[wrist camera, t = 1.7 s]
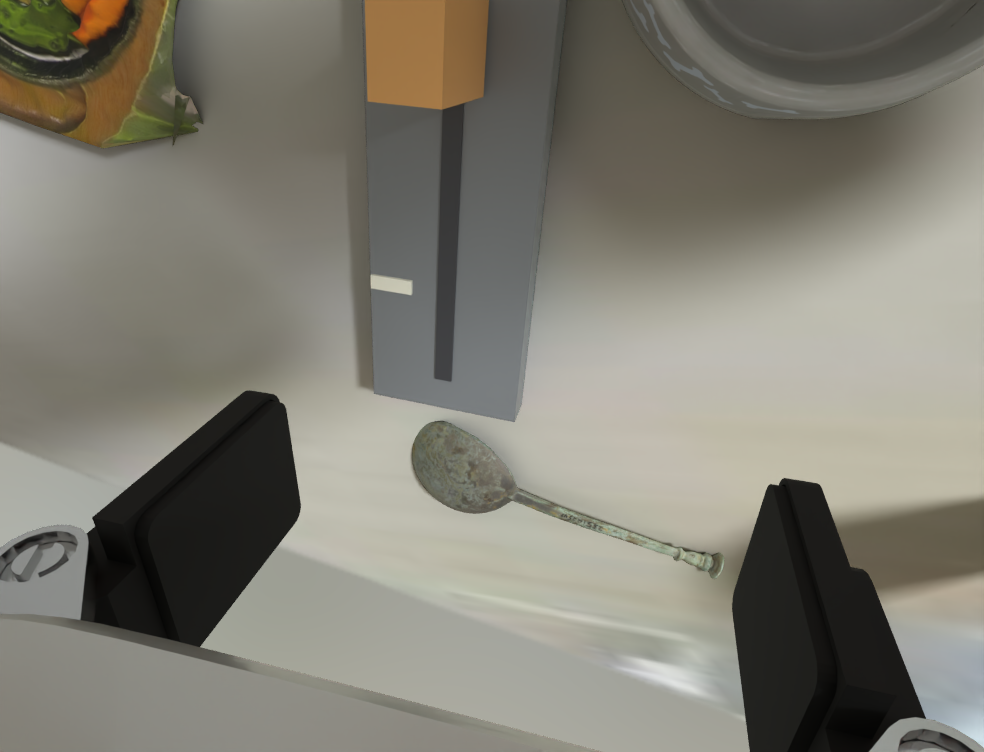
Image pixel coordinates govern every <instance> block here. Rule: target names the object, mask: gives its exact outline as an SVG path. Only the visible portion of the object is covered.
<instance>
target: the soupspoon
mask: <svg viewBox="0 0 984 752" xmlns="http://www.w3.org/2000/svg"><path fill="white" fill-rule="evenodd" d="M412 460H413V465H414V469H415V471H416V474H417V476H418V478H419V480H420V481H421V483H422V484H423V486H424V487H425V489H426V490H427V491H428V492H429V493H430V494H431V495H432V496H433V497H434V498H436V499H437V500H438V501H439V502H441V503H442V504H444V505H446V506H448V507H450V508H452V509H454V510H457V511H461V512H465V513H473V514H475V513H486V512H490V511H494V510H496V509H498V508H501V507H502V506H504V505H506V504H507V503H509V502H510V501H515V502H518V503H520V504H523V505H525V506H528V507H531V508H533V509H535V510H537V511H540V512H543V513H545V514H548V515H551V516H553V517H556V518H558V519H561V520H564V521H567V522H570V523H572V524H576V525H579V526H581V527H584V528H587V529H591V530H594V531H596V532H599V533H603V534H606V535H609V536H612V537H615V538H618V539H621V540H624V541H627V542H630V543H633V544H636V545H639V546H642V547H645V548H648V549H651V550H654V551H657V552H660V553H663V554H667V555H670V556H673V558H674V560H676V561H679V560H681V559H682V560H684V561H685V562H686V563H688V564H690V565H694V566H696V567H700V569H702V570H703V571H707V570H708V572H709V574H710V576H711V577H712V578H714V579H716V578H717V577H718V576H719V575H720V573H721V571H722V569H723V566H724V557H723V555H722V554H721V553H717V554H715V555H713V556H712V557H711V555H710V554H708V553H704V554H701V553H696V552H694V551H687V552H685V551H683V549H682V548H681V547H677V548H674V547H671V546H668V545H666V544H663V543H660V542H657V541H654V540H652V539H649V538H646V537H643V536H641V535H638V534H635V533H632V532H630V531H627V530H624V529H621V528H618V527H616V526H613V525H610V524H607V523H604V522H601V521H598V520H595V519H592V518H590V517H587V516H584V515H581V514H579V513H576V512H573V511H571V510H568V509H566V508H563V507H560V506H558V505H556V504H553V503H551V502H549V501H546V500H544V499H541V498H539V497H537V496H535V495H532V494H530V493H528V492H525V491H523V490H521V489H519V488H518V487H517V485H516V483H515V481H514V478H513V475H512V474H511V472H510V471H509V469H508V468H507V466H506V465H505V464H504V463H503V462H502V461H501V460H500V459H499V458H498V457H497V455H496V454H495V453H494V452H493V451H492V450H491V449H490V448H489V447H488V446H487V445H486V444H484V443H483V442H481V441H480V440H479V439H478V438H476V437H475V436H473V435H471V434H469V433H468V432H465V431H463V430H462V429H460V428H458V427H456V426H454V425H452V424H450V423H447V422H431V423H429V424H427V425H426V426H424V427H423V428H422V429H421V431H420V432H419V433H418V435H417V436H416V438H415V441H414V443H413V448H412Z"/></svg>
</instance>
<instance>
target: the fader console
mask: <svg viewBox="0 0 984 752" xmlns="http://www.w3.org/2000/svg"><path fill="white" fill-rule="evenodd" d="M566 4H567V0H489V9H488V27H487V44H486V61H485V78H484V95H483V97H482V98H478V99H475V100H472V101H469V102H465V103H462V104H459V105H455V106H452V107H449V108H446V109H442V110H441V109H432V108H423V107H413V106H404V105H395V104H386V103H377V102H368V98H367V63H366V27H365V0H362V14H363V47H364V80H365V114H366V147H367V180H368V214H369V247H370V280H371V313H372V347H373V380H374V394H378V395H383V396H388V397H393V398H397V399H402V400H407V401H412V402H417V403H422V404H427V405H432V406H437V407H442V408H447V409H452V410H457V411H462V412H467V413H472V414H477V415H482V416H487V417H492V418H497V419H502V420H507V421H511V422H515V420H516V417H517V415H518V412H519V410H520V407H521V404H522V395H523V386H524V377H525V369H526V360H527V351H528V342H529V333H530V324H531V315H532V306H533V297H534V289H535V280H536V271H537V262H538V253H539V244H540V235H541V226H542V218H543V209H544V200H545V191H546V182H547V173H548V164H549V155H550V146H551V138H552V129H553V120H554V111H555V102H556V93H557V84H558V75H559V67H560V58H561V49H562V40H563V31H564V22H565V13H566Z"/></svg>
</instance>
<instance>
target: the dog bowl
mask: <svg viewBox="0 0 984 752" xmlns="http://www.w3.org/2000/svg"><path fill="white" fill-rule="evenodd" d="M622 2H623V4H624V7H625V9H626V11H627V14H628V16H629V18H630V20H631V22H632V24H633V26H634V27H635V29H636V31H637V33H638V34H639V36H640V37H641V39H642V40H643V42H644V43H645V45H646V46H647V47H648V49H649V50H650V51H651V53H652V54H653V55H654V56H655V58H656V59H657V60H658V61H659V62H660V63H661V65H662V66H663V67H664V68H665V69H666V70H667V71H668V72H669V73H670V74H671V75H673V76H674V77H675V78H676V79H677V80H678V81H679V82H681V83H682V84H683V85H684V86H686V87H687V88H688V89H690V90H691V91H693V92H694V93H696V94H697V95H699V96H700V97H702V98H704V99H705V100H707V101H709V102H711V103H713V104H715V105H717V106H719V107H721V108H724V109H726V110H728V111H731V112H734V113H737V114H740V115H743V116H746V117H750V118H754V119H760V118H769V119H830V118H841V117H848V116H854V115H860V114H866V113H871V112H875V111H879V110H883V109H886V108H890V107H893V106H896V105H899V104H902V103H905V102H907V101H910V100H912V99H915V98H917V97H919V96H922V95H924V94H926V93H928V92H930V91H932V90H934V89H936V88H939V87H941V86H943V85H946V84H948V83H950V82H952V81H954V80H957V79H958V78H960V77H962V76H964V75H966V74H968V73H970V72H972V71H974V70H976V69H978V68H979V67H981V66H983V65H984V0H622ZM969 9H970V10H969Z"/></svg>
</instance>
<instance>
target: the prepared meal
mask: <svg viewBox="0 0 984 752" xmlns="http://www.w3.org/2000/svg"><path fill="white" fill-rule="evenodd" d="M177 1H178V0H0V113H3V114H6V115H8V116H11V117H14V118H16V119H19V120H22V121H25V122H27V123H30V124H33V125H36V126H38V127H41V128H44V129H47V130H50V131H53V132H56V133H59V134H62V135H65V136H68V137H71V138H74V139H77V140H80V141H83V142H86V143H88V144H91V145H94V146H97V147H100V148H109V147H114V146H120V145H126V144H131V143H137V142H143V141H149V140H154V139H160V138H166V137H171V136H173V145H174V142H175V139H176V136H177V135H183V134H188V133H193V132H198V129H197V128H195V127H194V126H192V125H193V124H194V123H196V122H200V123H202V124H203V122H202V120H201V118H200V116H199V114H198V112H197V110H196V108H195V106H194V103H193V101H192V99H191V97H189V96H185V95H182V94H181V93H180V92H179V91H178V90H177V89H176V86H175V79H174V71H173V64H172V53H173V38H174V23H175V10H176V6H177Z"/></svg>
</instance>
